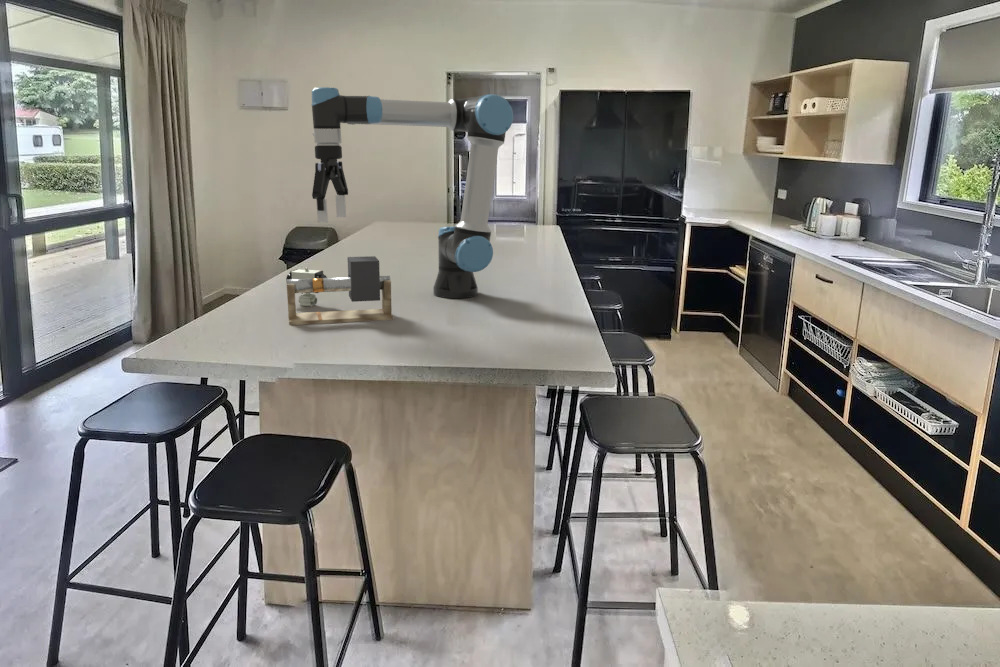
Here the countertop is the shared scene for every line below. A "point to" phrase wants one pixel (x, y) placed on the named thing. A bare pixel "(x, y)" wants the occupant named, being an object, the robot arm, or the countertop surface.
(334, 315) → the pipe rig
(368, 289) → the collar
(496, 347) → the countertop surface
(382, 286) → the pipe
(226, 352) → the countertop surface
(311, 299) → the pneumatic valve
